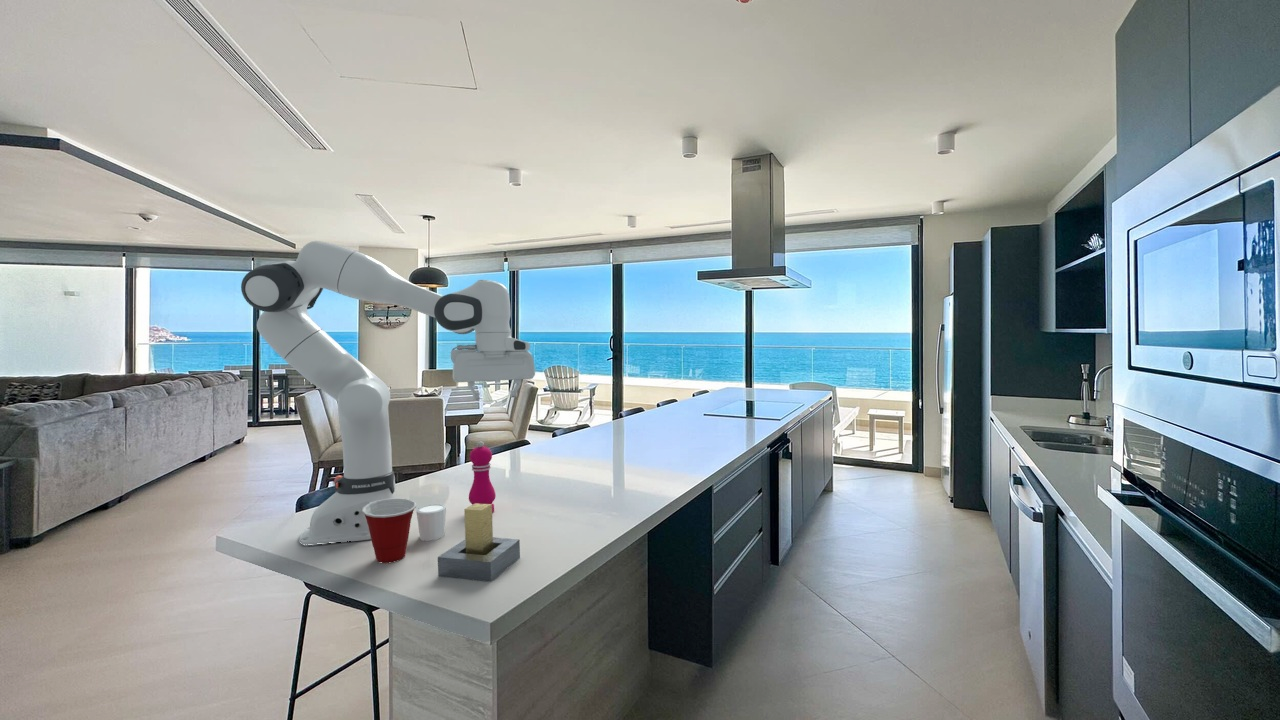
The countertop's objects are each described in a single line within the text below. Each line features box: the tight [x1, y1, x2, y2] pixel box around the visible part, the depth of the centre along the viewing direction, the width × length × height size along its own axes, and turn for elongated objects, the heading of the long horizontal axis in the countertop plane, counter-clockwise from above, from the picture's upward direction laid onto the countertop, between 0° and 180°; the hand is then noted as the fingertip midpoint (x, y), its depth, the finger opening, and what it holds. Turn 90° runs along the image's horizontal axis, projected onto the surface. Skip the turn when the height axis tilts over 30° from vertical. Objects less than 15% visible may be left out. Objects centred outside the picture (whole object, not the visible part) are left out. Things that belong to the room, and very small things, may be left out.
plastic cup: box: [362, 497, 417, 564], centre depth 115 cm, size 11×11×12 cm
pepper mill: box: [468, 440, 497, 514], centre depth 146 cm, size 7×7×20 cm
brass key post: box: [463, 503, 494, 555], centre depth 110 cm, size 4×4×12 cm
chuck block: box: [437, 536, 521, 583], centre depth 110 cm, size 12×12×4 cm
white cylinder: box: [415, 503, 447, 542], centre depth 128 cm, size 7×7×7 cm
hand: (495, 398), depth 133 cm, fingers open, 8 cm apart
